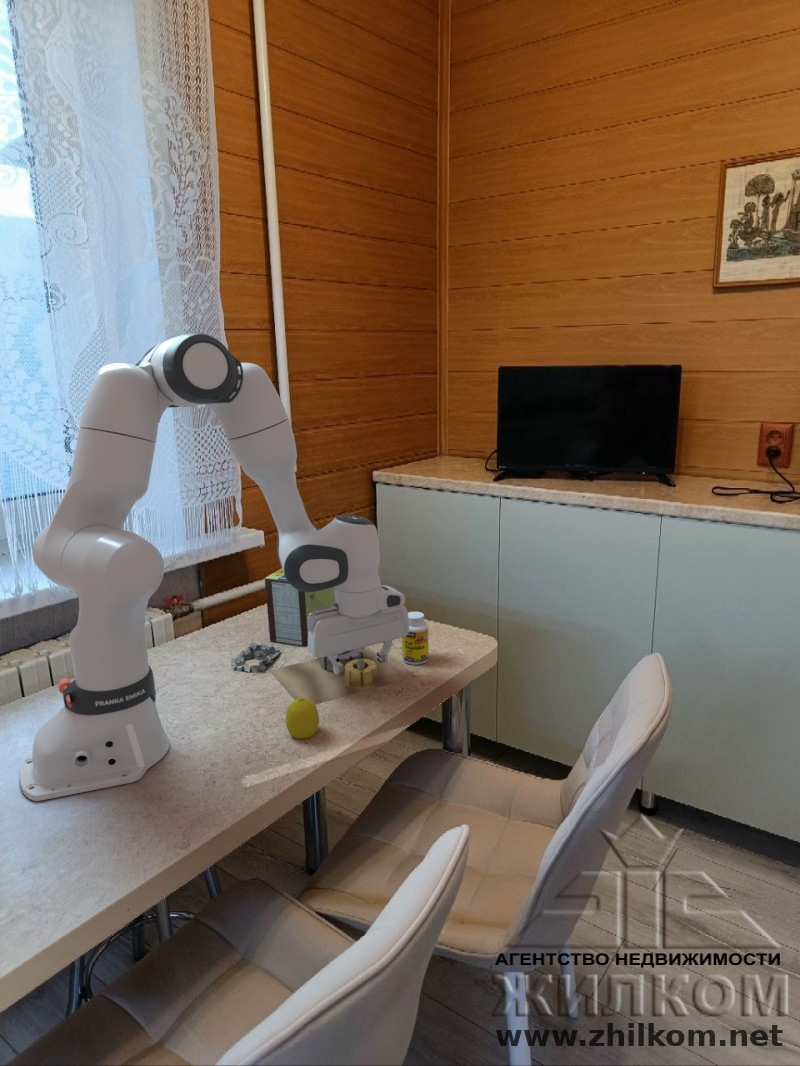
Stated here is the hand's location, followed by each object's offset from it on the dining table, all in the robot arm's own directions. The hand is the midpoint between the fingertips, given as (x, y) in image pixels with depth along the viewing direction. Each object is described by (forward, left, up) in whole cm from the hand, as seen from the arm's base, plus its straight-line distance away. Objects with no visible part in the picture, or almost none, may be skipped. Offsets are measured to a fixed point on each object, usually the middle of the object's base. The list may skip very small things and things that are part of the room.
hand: (360, 667), depth 136 cm
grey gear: (0, +9, -3) cm, 9 cm away
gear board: (-3, +5, -4) cm, 7 cm away
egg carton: (-15, +20, -5) cm, 25 cm away
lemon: (-17, -12, -4) cm, 21 cm away
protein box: (+1, +32, -4) cm, 32 cm away
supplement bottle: (+15, +5, -4) cm, 16 cm away
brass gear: (0, 0, -3) cm, 3 cm away
